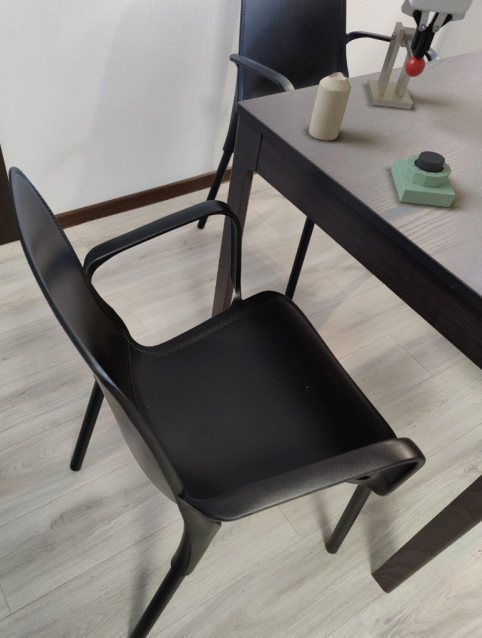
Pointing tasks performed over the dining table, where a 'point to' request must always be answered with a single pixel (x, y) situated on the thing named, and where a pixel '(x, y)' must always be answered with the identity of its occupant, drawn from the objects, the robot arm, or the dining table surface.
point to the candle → (330, 106)
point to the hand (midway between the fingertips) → (417, 54)
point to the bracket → (382, 89)
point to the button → (430, 162)
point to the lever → (414, 63)
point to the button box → (422, 183)
